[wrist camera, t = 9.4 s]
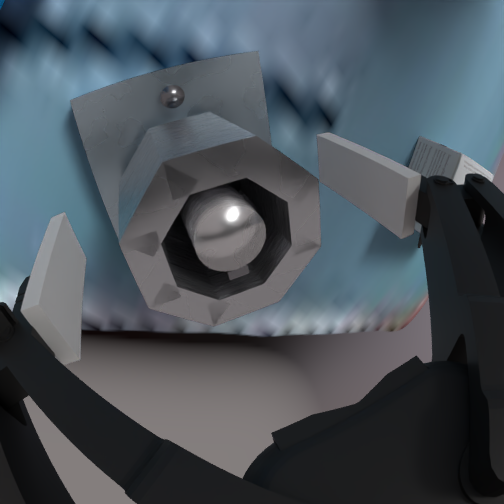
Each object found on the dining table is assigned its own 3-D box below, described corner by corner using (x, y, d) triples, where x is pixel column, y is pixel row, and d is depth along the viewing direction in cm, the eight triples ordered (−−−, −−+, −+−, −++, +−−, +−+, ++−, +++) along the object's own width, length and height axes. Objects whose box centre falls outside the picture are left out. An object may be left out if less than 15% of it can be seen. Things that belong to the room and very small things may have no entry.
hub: (106, 143, 13) (95, 185, 8) (250, 102, 15) (314, 123, 10) (149, 264, 17) (167, 343, 13) (268, 223, 19) (321, 283, 14)
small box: (457, 157, 27) (495, 176, 23) (430, 223, 30) (464, 247, 26) (417, 133, 24) (463, 152, 20) (387, 213, 27) (426, 241, 23)
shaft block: (74, 98, 14) (27, 123, 7) (248, 52, 16) (343, 48, 9) (137, 272, 21) (156, 380, 14) (273, 225, 23) (345, 305, 16)
